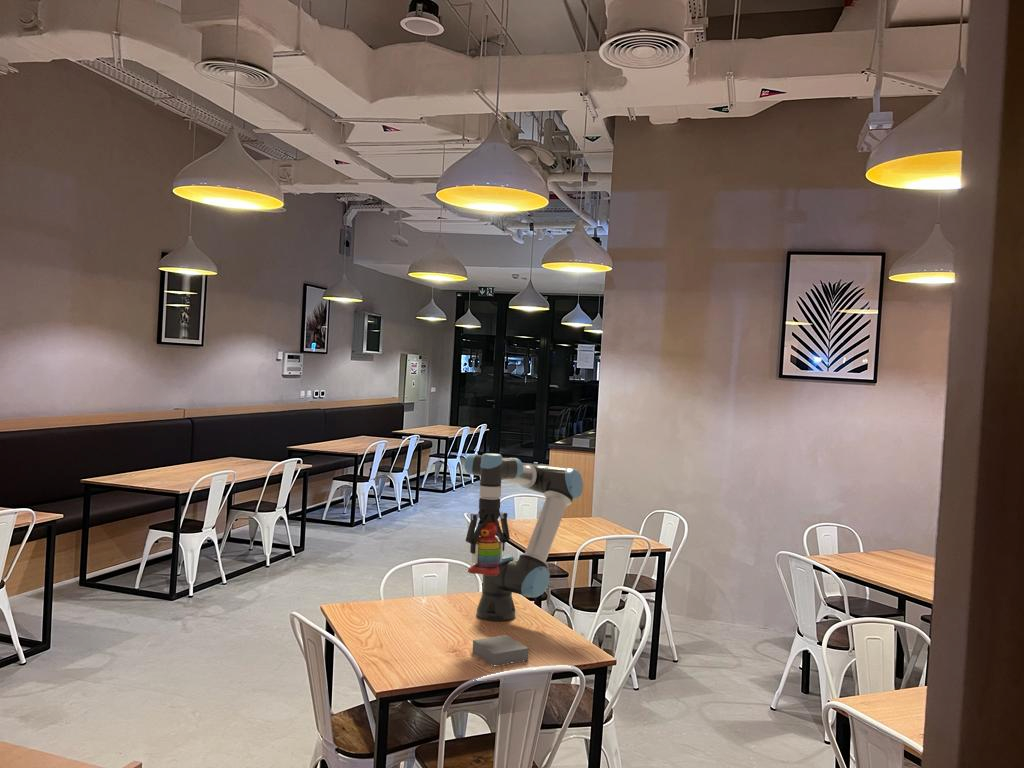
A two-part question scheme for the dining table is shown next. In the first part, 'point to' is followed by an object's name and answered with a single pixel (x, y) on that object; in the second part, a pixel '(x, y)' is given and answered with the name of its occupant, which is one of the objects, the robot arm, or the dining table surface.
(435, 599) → the dining table surface
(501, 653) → the grey block
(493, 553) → the stacking bear
